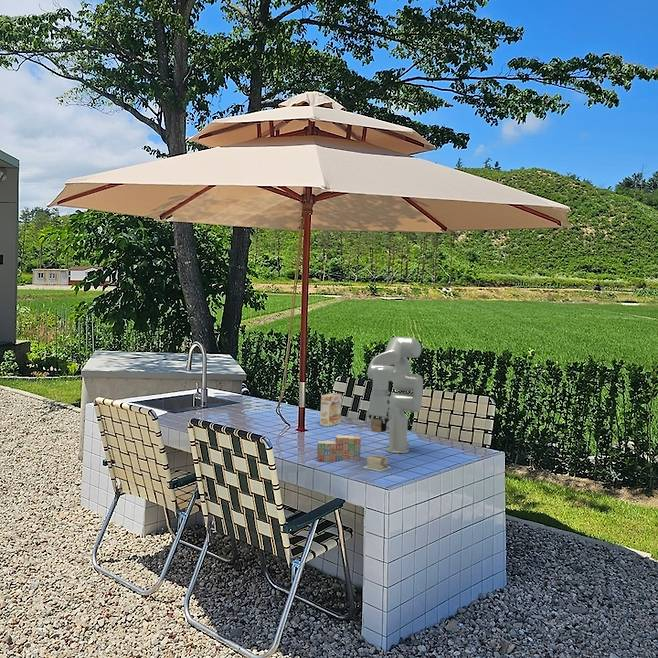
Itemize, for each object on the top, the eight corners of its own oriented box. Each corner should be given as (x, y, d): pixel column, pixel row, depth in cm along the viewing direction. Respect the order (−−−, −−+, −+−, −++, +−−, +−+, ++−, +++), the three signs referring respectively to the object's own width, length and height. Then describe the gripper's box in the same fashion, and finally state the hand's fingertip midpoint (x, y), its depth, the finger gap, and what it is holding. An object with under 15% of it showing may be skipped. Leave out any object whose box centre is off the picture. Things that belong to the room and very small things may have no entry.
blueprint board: (372, 464, 343) (372, 461, 343) (396, 469, 334) (397, 467, 334) (356, 469, 331) (356, 467, 331) (381, 475, 323) (381, 472, 323)
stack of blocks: (317, 461, 345) (318, 437, 344) (316, 458, 351) (317, 434, 351) (359, 462, 347) (360, 438, 346) (358, 459, 353) (359, 435, 352)
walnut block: (377, 429, 335) (377, 417, 335) (385, 431, 332) (386, 419, 332) (371, 431, 331) (371, 418, 331) (380, 432, 328) (380, 420, 328)
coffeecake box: (329, 427, 432) (330, 396, 431) (319, 425, 436) (320, 395, 435) (341, 423, 445) (342, 393, 444) (331, 422, 448) (332, 392, 447)
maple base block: (374, 464, 338) (375, 454, 337) (387, 467, 334) (387, 457, 333) (366, 467, 332) (367, 457, 332) (379, 470, 328) (379, 459, 328)
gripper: (399, 394, 329) (397, 431, 330) (369, 390, 339) (368, 426, 340) (391, 395, 323) (389, 434, 324) (361, 391, 333) (359, 428, 334)
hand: (378, 429), depth 332 cm, fingers closed on walnut block, 5 cm apart
